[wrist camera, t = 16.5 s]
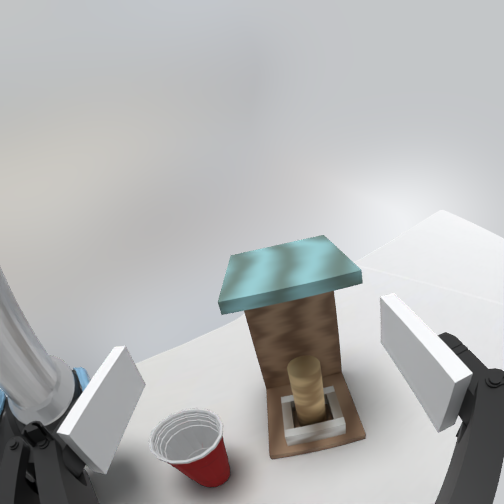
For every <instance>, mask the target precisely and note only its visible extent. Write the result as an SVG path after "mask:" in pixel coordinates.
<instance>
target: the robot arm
mask: <svg viewBox="0 0 504 504" xmlns="http://www.w3.org/2000/svg"><path fill="white" fill-rule="evenodd" d="M380 312H381V344H382V345H383V346H384V348H385V349H386V351H387V352H388V354H389V355H390V357H391V358H392V360H393V361H394V363H395V364H396V366H397V367H398V369H399V371H400V372H401V374H402V375H403V377H404V378H405V380H406V381H407V383H408V384H409V386H410V388H411V389H412V391H413V392H414V394H415V396H416V397H417V399H418V400H419V402H420V404H421V405H422V407H423V408H424V410H425V412H426V413H427V415H428V417H429V418H430V420H431V422H432V423H433V425H434V427H435V428H436V430H437V432H438V433H439V432H441V431H443V430H445V429H446V428H448V427H450V426H452V425H454V424H455V422H456V419H457V417H458V415H459V416H460V418H461V419H462V421H463V422H462V424H461V426H460V428H459V430H458V433H457V435H456V437H458V438H457V442H456V446H455V449H454V453H453V456H452V459H451V462H450V465H449V468H448V471H447V474H446V477H445V480H444V482H443V485H442V488H441V490H440V493H439V495H438V497H437V500H436V502H435V504H493V500H494V497H495V493H496V490H497V486H498V482H499V478H500V473H501V468H502V463H503V458H504V371H502V370H501V369H496V368H494V369H488V368H487V367H486V366H485V365H484V364H483V363H482V362H481V361H480V360H479V359H478V358H477V357H476V356H475V355H474V354H473V353H472V352H471V351H470V350H468V348H467V347H466V346H465V345H463V344H462V342H461V341H460V340H459V339H458V338H457V337H455V336H453V335H451V334H449V333H446V332H445V333H443V334H440V335H438V336H437V335H436V334H435V333H434V332H433V331H432V330H431V329H430V327H429V326H428V325H427V324H426V323H424V322H423V321H422V320H421V319H420V318H419V317H418V316H417V315H416V314H415V313H414V312H413V311H412V310H411V309H410V308H409V307H408V306H407V305H406V304H405V303H404V302H403V301H402V300H401V299H400V298H399V297H398V296H397V295H396V294H394V293H391V294H388V295H384V296H381V297H380ZM145 385H146V384H145V382H144V380H143V378H142V376H141V375H140V373H139V371H138V369H137V367H136V365H135V363H134V361H133V359H132V357H131V355H130V353H129V352H128V349H127V347H126V346H119V347H114V349H113V350H112V351H111V353H110V354H109V355H108V357H107V358H106V360H105V361H104V363H103V364H102V365H101V367H100V368H99V370H98V371H97V372H96V374H95V375H94V377H93V378H92V379H90V377H89V375H88V373H87V371H86V370H85V369H84V368H82V367H80V368H73V370H71V369H70V367H69V366H68V364H67V363H65V361H64V360H62V359H60V358H58V357H56V356H51V355H48V353H47V352H46V350H45V349H44V347H43V346H42V344H41V343H40V341H39V339H38V338H37V336H36V335H35V333H34V331H33V330H32V328H31V326H30V325H29V323H28V321H27V319H26V318H25V316H24V314H23V312H22V311H21V309H20V307H19V305H18V303H17V301H16V299H15V297H14V295H13V293H12V291H11V289H10V287H9V285H8V283H7V281H6V279H5V276H4V274H3V272H2V270H1V267H0V388H1V389H2V390H3V391H4V392H3V391H2V390H1V389H0V504H99V503H98V500H97V498H96V495H95V493H94V490H93V487H92V485H91V482H90V479H89V476H88V474H87V472H86V471H85V470H84V467H85V465H87V466H88V467H89V468H90V469H91V470H92V471H93V472H97V473H101V474H107V471H108V469H109V467H110V464H111V462H112V459H113V457H114V455H115V452H116V450H117V448H118V445H119V443H120V441H121V438H122V436H123V434H124V431H125V429H126V427H127V425H128V422H129V420H130V418H131V416H132V413H133V411H134V409H135V407H136V405H137V402H138V400H139V398H140V396H141V394H142V392H143V389H144V387H145ZM5 394H6V395H8V397H6V395H5Z"/></svg>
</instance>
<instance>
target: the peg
mask: <svg viewBox="0 0 504 504" xmlns="http://www.w3.org/2000/svg"><path fill="white" fill-rule="evenodd" d="M287 370H288V375H289V379H290V384H291V388H292V393H293V398H294V402H295V407H296V411H297V416H298V421H299V425H300V426H301V427H303V426H307V425H312V424H317V423H321V422H325V421H326V409H325V400H324V391H323V382H322V374H321V366H320V361H319V360H318V359H317V358H316V357H314V356H309V355H305V356H300V357H297V358H295V359H293V360H292V361H290V363H289V364H288V366H287Z"/></svg>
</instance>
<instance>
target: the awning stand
mask: <svg viewBox="0 0 504 504" xmlns="http://www.w3.org/2000/svg"><path fill="white" fill-rule="evenodd" d="M358 284H362V272H361V269H360V268H359V267H358V266H356V265H355V264H354V263H353V262H352V261H351V260H350V259H349V258H348V257H347V256H346V255H345V254H344V253H343V252H342V251H340V250H339V249H338V248H337V247H336V246H335V245H334V244H333V243H332V242H330V240H328V239H327V238H326V237H325V236H324V235H321V236H317V237H313V238H308V239H303V240H299V241H294V242H290V243H285V244H281V245H276V246H272V247H267V248H263V249H258V250H254V251H249V252H244V253H240V254H235V255H231V257H230V260H229V264H228V268H227V271H226V274H225V278H224V282H223V285H222V289H221V293H220V296H219V300H218V304H219V307H220V310H221V314H222V315H223V314H228V313H234V312H239V311H244V312H245V316H246V319H247V323H248V326H249V330H250V334H251V337H252V341H253V344H254V348H255V351H256V355H257V358H258V362H259V365H260V369H261V372H262V376H263V379H264V382H265V386H266V390H267V410H268V431H269V453H270V458H271V459H276V458H283V457H289V456H295V455H300V454H306V453H310V452H315V451H320V450H324V449H328V448H333V447H337V446H340V445H344V444H348V443H351V442H355V441H358V440H362V439H365V436H366V434H365V431H364V429H363V426H362V423H361V421H360V418H359V415H358V413H357V410H356V407H355V405H354V402H353V400H352V397H351V395H350V392H349V390H348V387H347V384H346V382H345V379H344V377H343V374H342V370H341V356H340V344H339V334H338V324H337V314H336V306H335V297H334V290H338V289H342V288H346V287H350V286H354V285H358ZM305 355H309V356H314V357H316V358H317V359H318V360H319V361H320V366H321V374H322V382H323V391H324V400H325V409H326V421H325V422H321V423H317V424H312V425H307V426H303V427H301V426H300V425H299V421H298V416H297V411H296V407H295V402H294V398H293V393H292V388H291V384H290V379H289V375H288V370H287V366H288V364H289V363H290V361H292V360H293V359H295V358H297V357H300V356H305Z"/></svg>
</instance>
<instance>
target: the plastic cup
mask: <svg viewBox="0 0 504 504" xmlns="http://www.w3.org/2000/svg"><path fill="white" fill-rule="evenodd" d="M149 446H150V451H151V452H152V453H153V454H154V455H155V456H156V457H157V458H158V459H160V460H162V461H165V462H167V463H168V464H171V465H172V466H173V467H175V468H177V469H178V470H179V471H181V472H182V473H183V474H185V475H186V476H188V477H189V478H190V479H192V480H194V481H196V482H197V483H199V484H200V485H203V486H206V487H217V486H219V485H222V484H223V483H224V482H226V481H227V480H228V478H229V476H230V466H229V463H228V457H227V453H226V449H225V446H224V442H223V423H222V421H221V419H220V418H219V416H218V415H217V414H215V413H214V412H212V411H210V410H208V409H200V408H193V409H185V410H181V411H179V412H176V413H173V414H171V415H169V416H168V417H166V418H165V419H163V420H162V421H160V422H159V423H158V425H157V426H156V427H155V428H154V429H153V430H152V432H151V435H150V438H149Z"/></svg>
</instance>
